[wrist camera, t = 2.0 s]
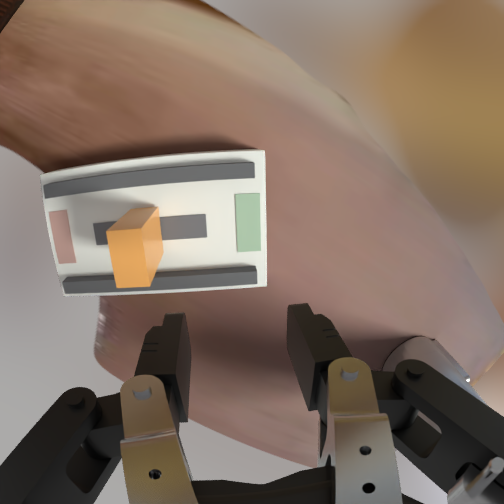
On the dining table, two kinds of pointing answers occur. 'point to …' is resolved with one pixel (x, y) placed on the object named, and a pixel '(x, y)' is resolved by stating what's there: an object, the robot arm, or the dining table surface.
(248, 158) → the breaker panel
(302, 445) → the dining table surface
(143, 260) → the block
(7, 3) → the manual coffee grinder
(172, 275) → the pair of grey rails
